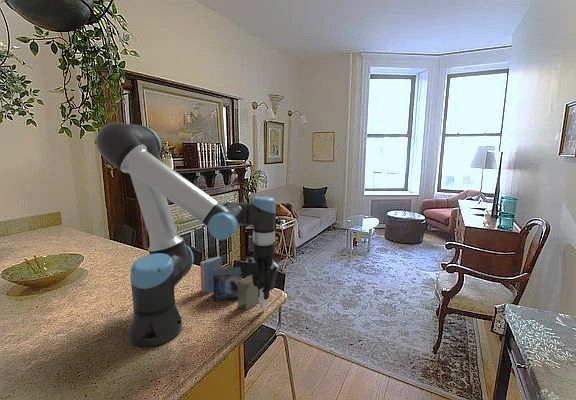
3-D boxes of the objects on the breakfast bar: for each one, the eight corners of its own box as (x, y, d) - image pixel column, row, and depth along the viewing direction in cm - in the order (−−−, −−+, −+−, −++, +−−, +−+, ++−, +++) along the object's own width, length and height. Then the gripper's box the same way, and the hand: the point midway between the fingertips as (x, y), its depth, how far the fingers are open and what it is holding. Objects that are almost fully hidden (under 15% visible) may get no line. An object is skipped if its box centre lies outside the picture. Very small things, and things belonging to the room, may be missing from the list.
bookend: (246, 310, 104) (245, 284, 103) (238, 307, 107) (237, 281, 105) (259, 302, 110) (259, 277, 108) (251, 299, 112) (251, 274, 111)
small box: (213, 302, 110) (213, 275, 108) (213, 293, 116) (212, 268, 114) (242, 298, 113) (242, 273, 111) (240, 290, 119) (240, 266, 117)
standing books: (208, 294, 116) (207, 262, 114) (201, 290, 118) (200, 260, 116) (222, 287, 121) (221, 257, 119) (214, 284, 124) (213, 255, 122)
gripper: (286, 243, 99) (284, 307, 103) (256, 236, 107) (256, 296, 111) (272, 249, 93) (271, 317, 97) (242, 241, 101) (242, 305, 105)
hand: (263, 306), depth 104 cm, fingers closed
